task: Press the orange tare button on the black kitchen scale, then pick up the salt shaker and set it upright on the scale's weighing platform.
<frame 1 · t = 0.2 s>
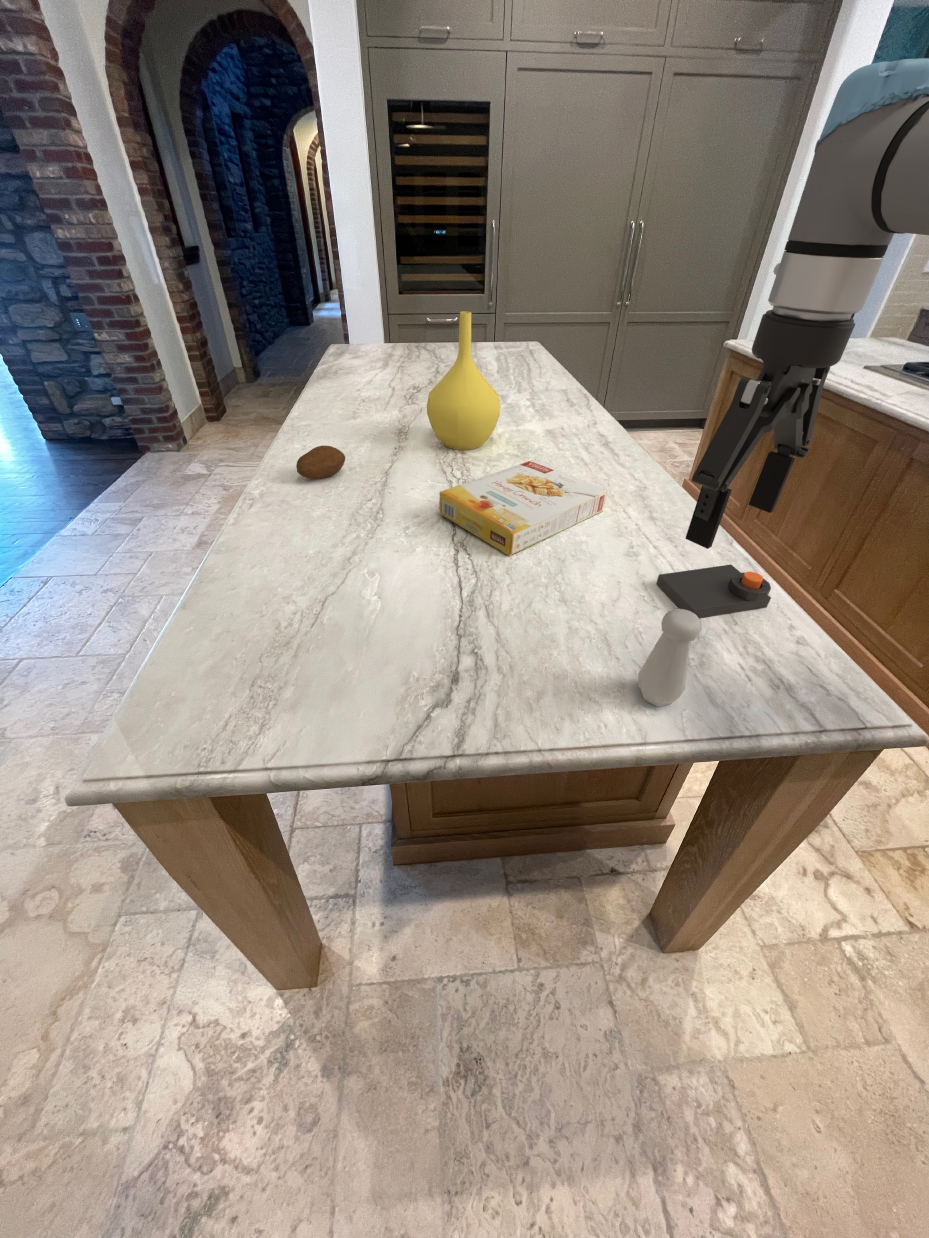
hand: (730, 524, 61), 22 cm above the table, tool pointing down, fingers open, 13 cm apart
cereal box: (522, 515, 109), on the table
tare button: (751, 580, 84), point 4 cm above the table, slide at 0.1 cm
vase: (462, 444, 139), on the table
scale: (710, 595, 88), on the table
salt shaker: (656, 695, 70), on the table
potato: (322, 478, 120), on the table
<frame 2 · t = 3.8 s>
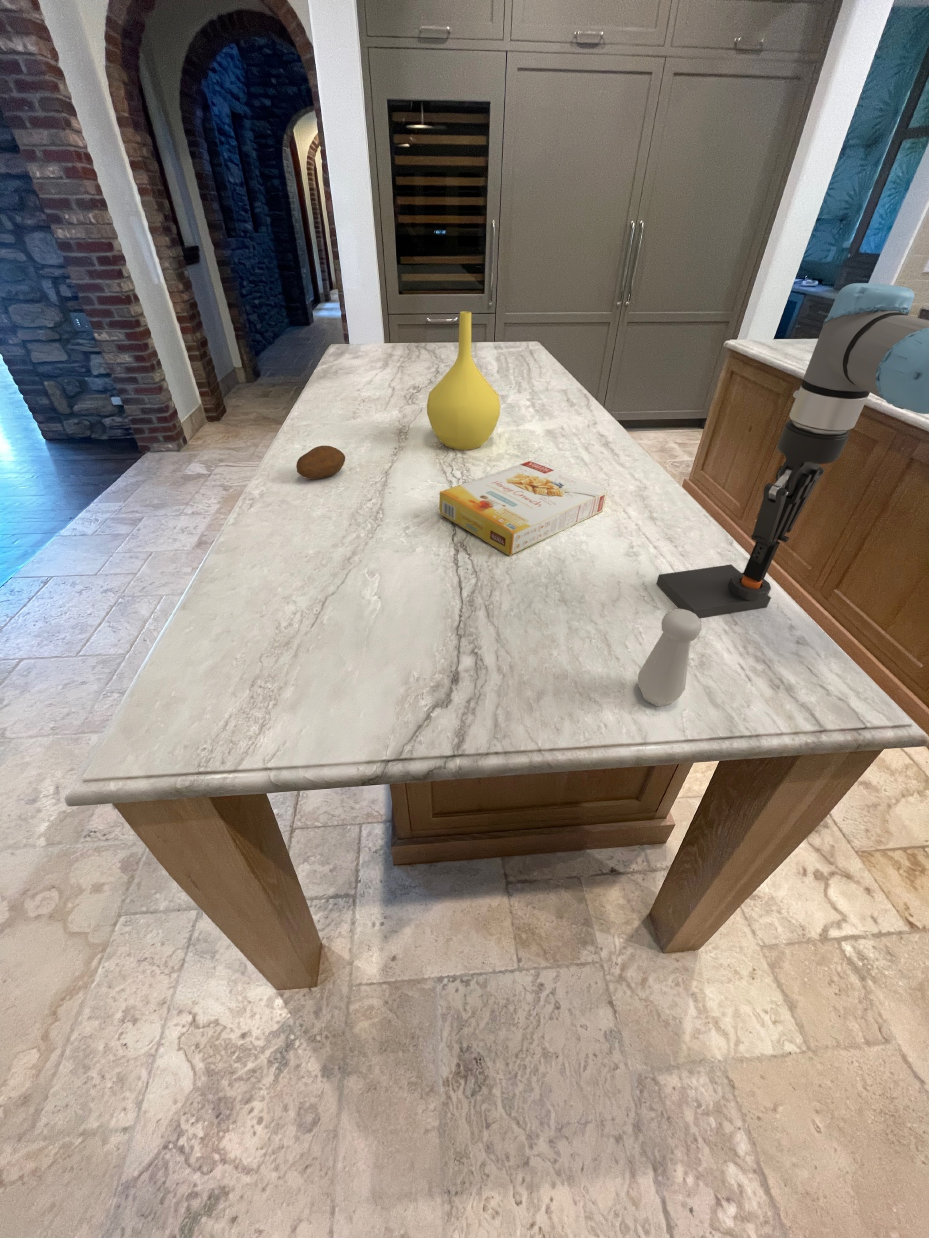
hand: (753, 576, 84), 5 cm above the table, tool pointing down, fingers closed
tare button: (751, 582, 84), point 4 cm above the table, slide at -0.2 cm, touching gripper
everything else where it was.
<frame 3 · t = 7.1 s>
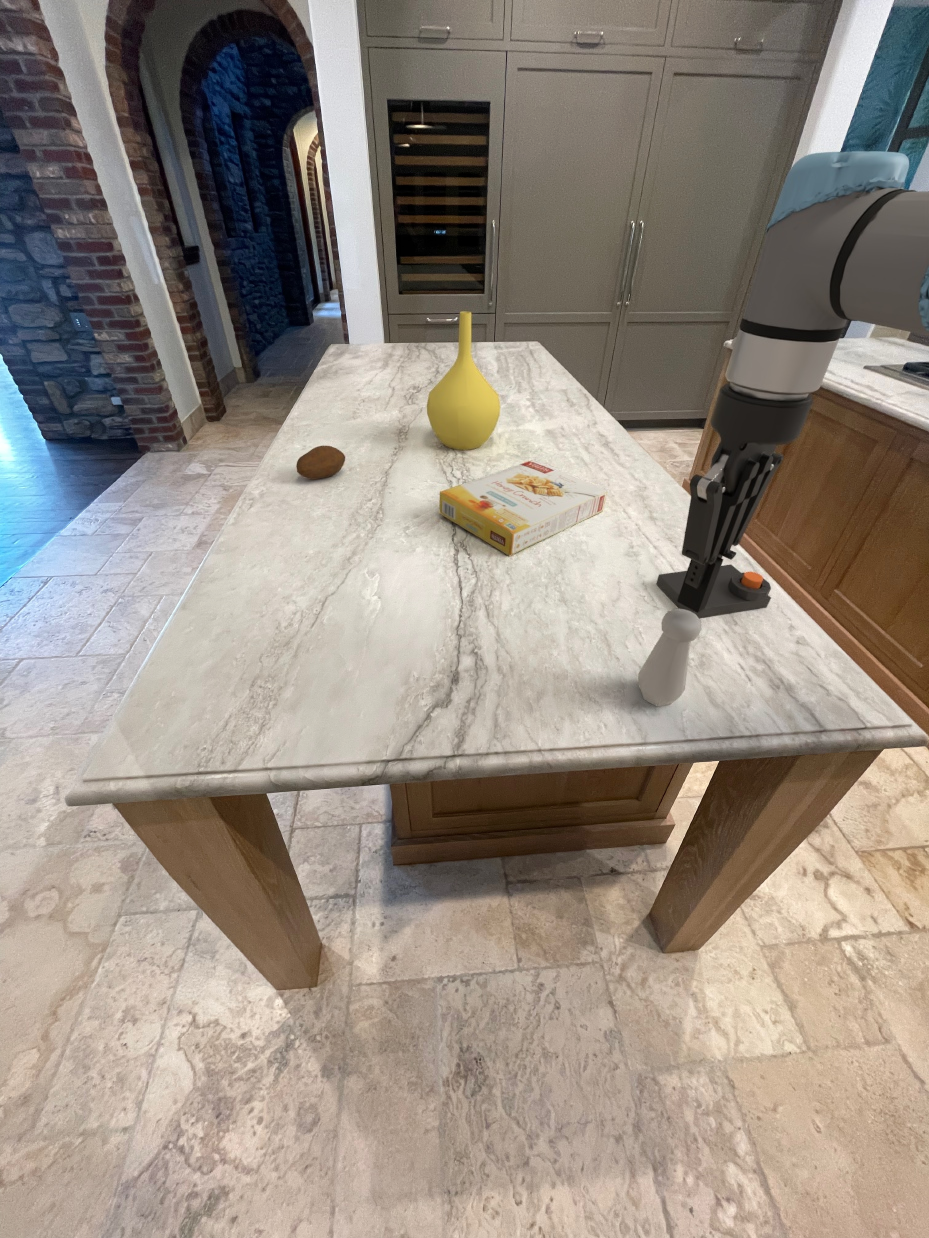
hand: (690, 604, 61), 14 cm above the table, tool pointing down, fingers closed
tare button: (751, 580, 84), point 4 cm above the table, slide at 0.1 cm
everything else where it was.
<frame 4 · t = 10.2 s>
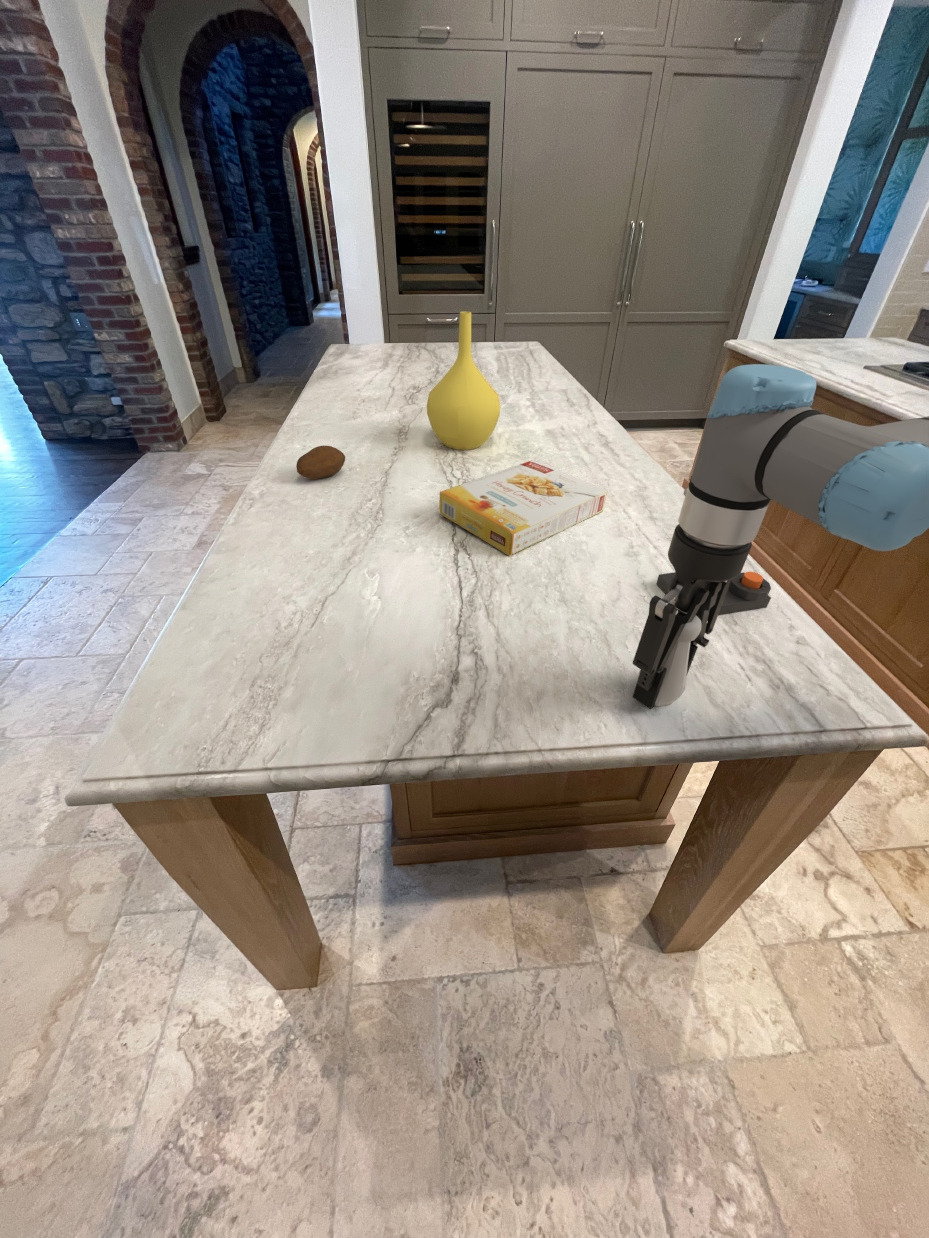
hand: (658, 690, 69), 1 cm above the table, tool pointing down, fingers closed on salt shaker, 6 cm apart
salt shaker: (656, 695, 70), on the table, touching gripper
everything else where it was.
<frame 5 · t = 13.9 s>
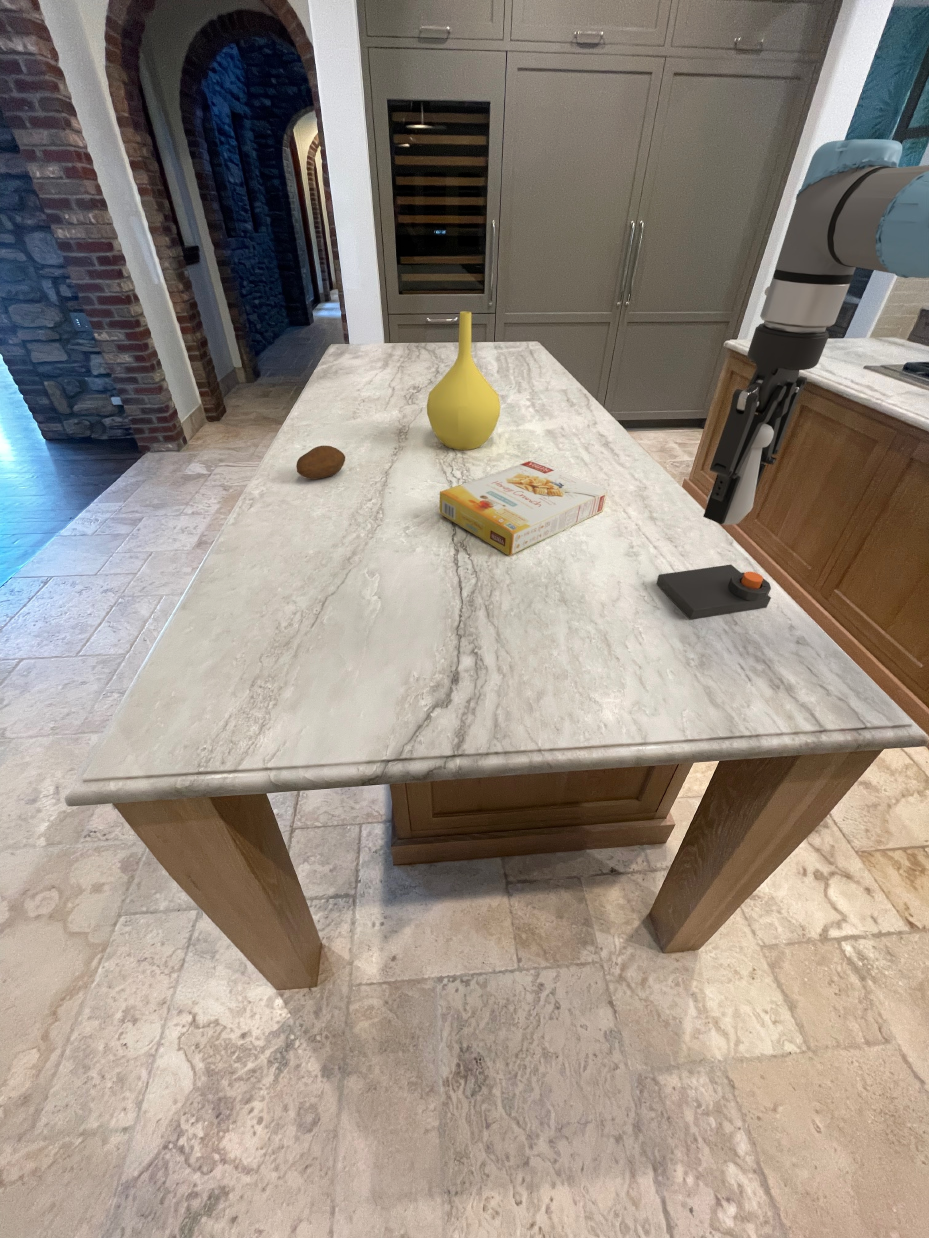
hand: (726, 512, 74), 17 cm above the table, tool pointing down, fingers closed on salt shaker, 6 cm apart
salt shaker: (723, 519, 75), point 16 cm above the table, touching gripper
everything else where it was.
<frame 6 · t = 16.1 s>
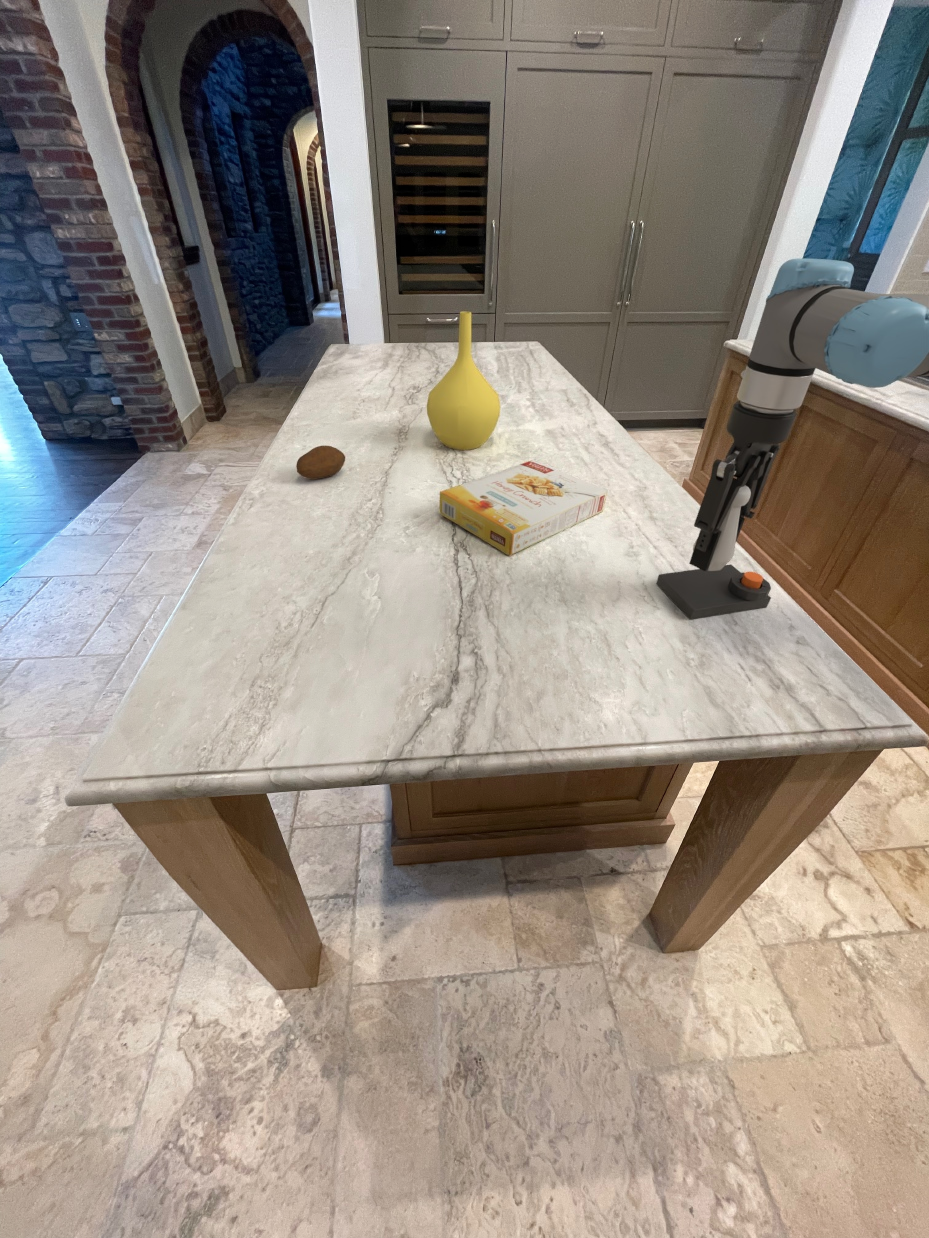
hand: (710, 559, 82), 7 cm above the table, tool pointing down, fingers closed on salt shaker, 6 cm apart
salt shaker: (707, 565, 83), point 6 cm above the table, touching gripper
everything else where it was.
when the fingers open (3 cm above the table, at t = 17.6 s): salt shaker stays where it is, resting on scale.
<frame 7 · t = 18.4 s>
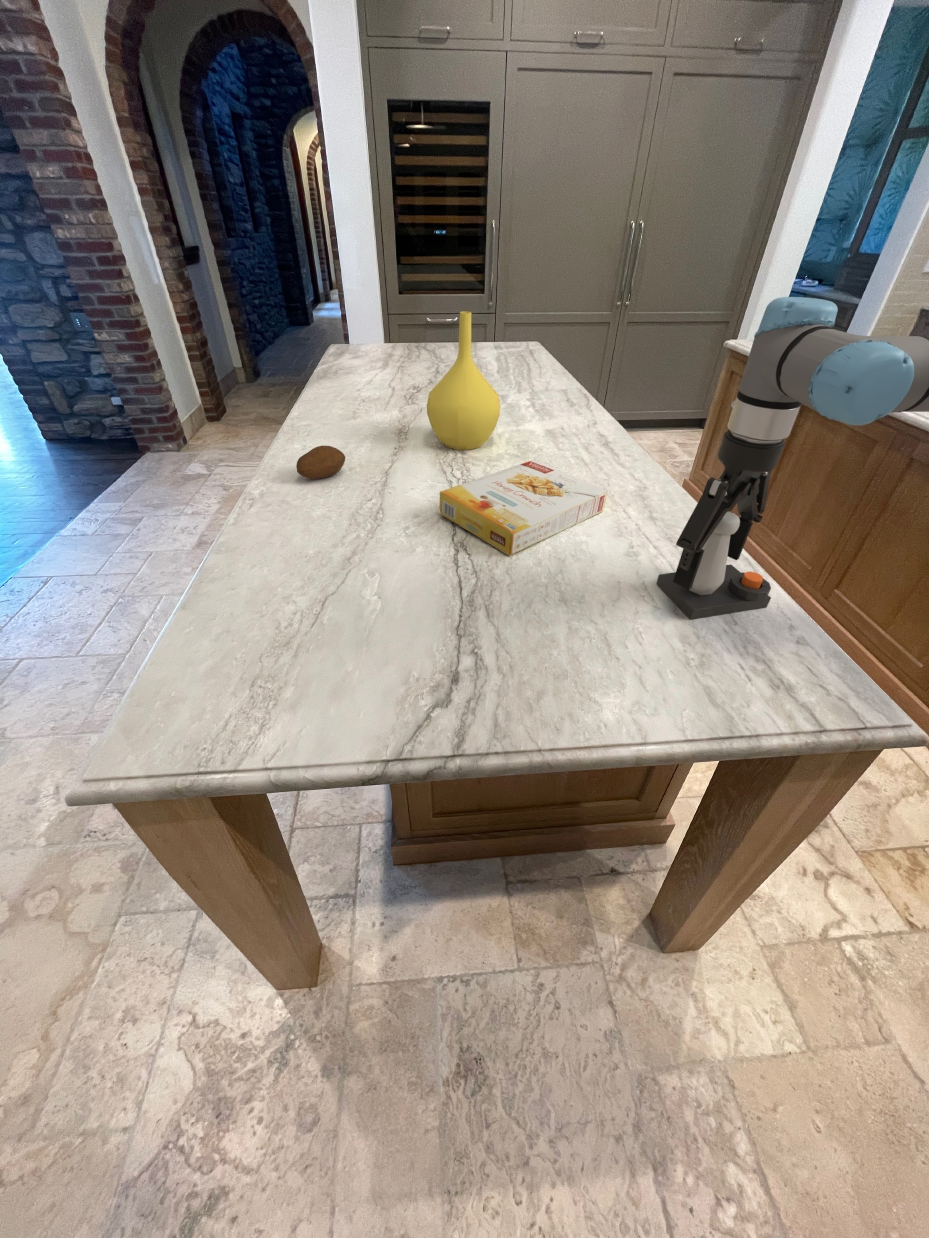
hand: (706, 570, 84), 5 cm above the table, tool pointing down, fingers open, 13 cm apart
salt shaker: (699, 588, 86), point 2 cm above the table, touching scale
everything else where it was.
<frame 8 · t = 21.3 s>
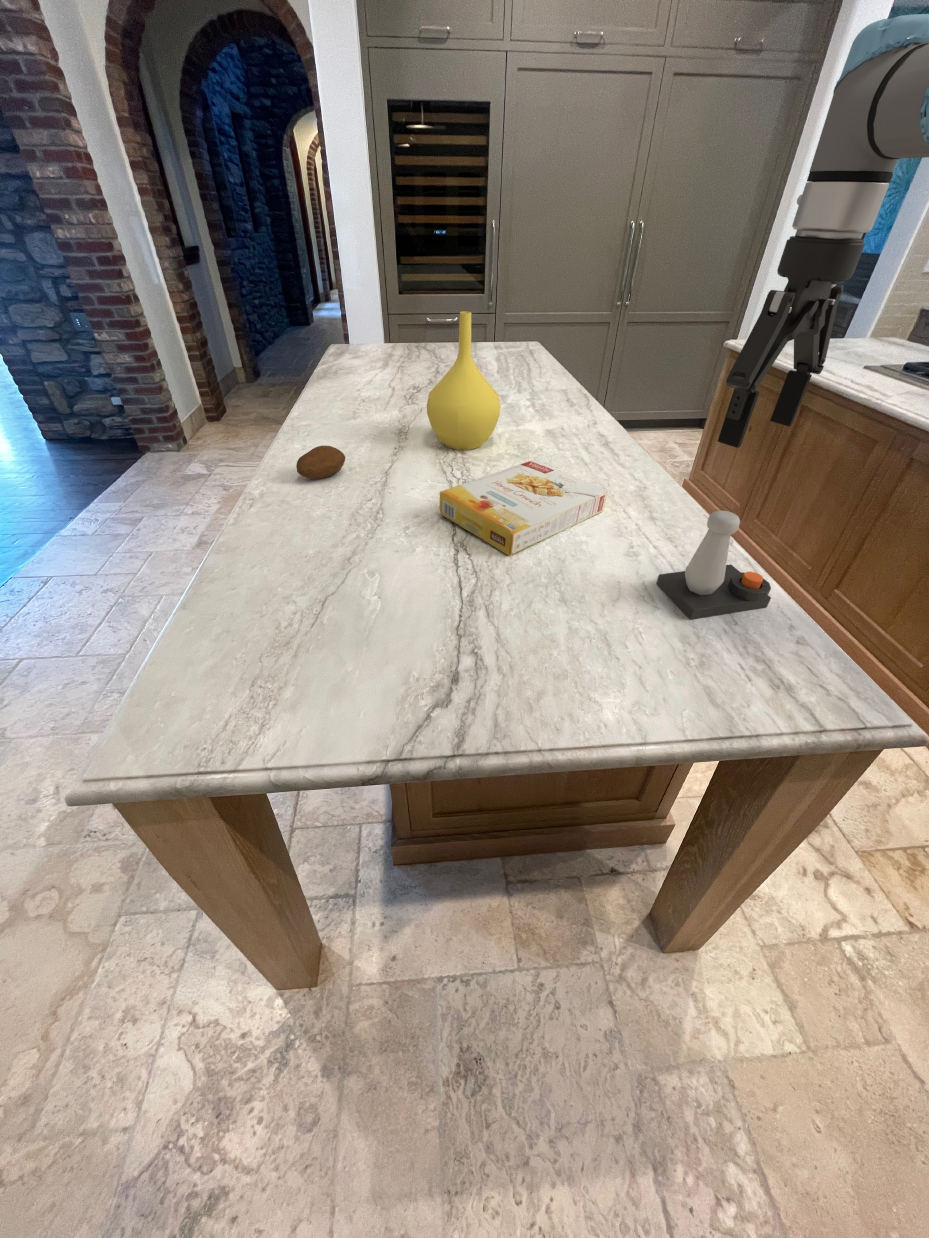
hand: (755, 433, 70), 27 cm above the table, tool pointing down, fingers open, 13 cm apart
nothing on the table moved.
at the end: tare button pushed in 0.8 cm at the most during the clip, back to where it started at the end; salt shaker inside the target area on the scale (0.0 cm from its centre), point 1.7 cm above the scale's base; salt shaker tilted 0° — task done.
